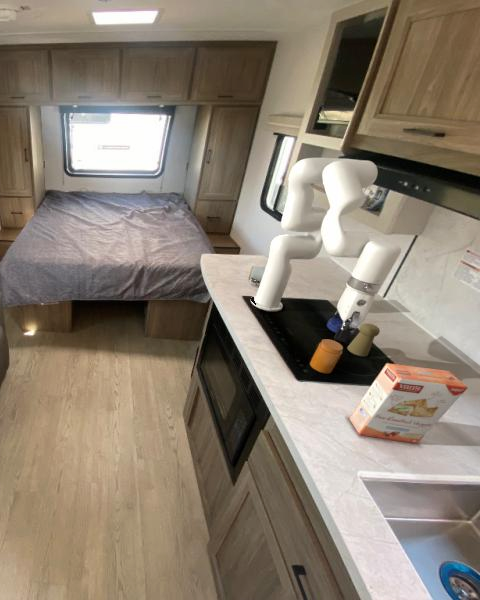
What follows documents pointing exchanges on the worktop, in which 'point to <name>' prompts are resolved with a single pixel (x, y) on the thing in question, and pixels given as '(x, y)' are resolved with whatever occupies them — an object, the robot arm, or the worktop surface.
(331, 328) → the lid
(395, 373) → the cracker box
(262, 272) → the ceramic mug
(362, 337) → the cork
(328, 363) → the jar
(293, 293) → the worktop surface
